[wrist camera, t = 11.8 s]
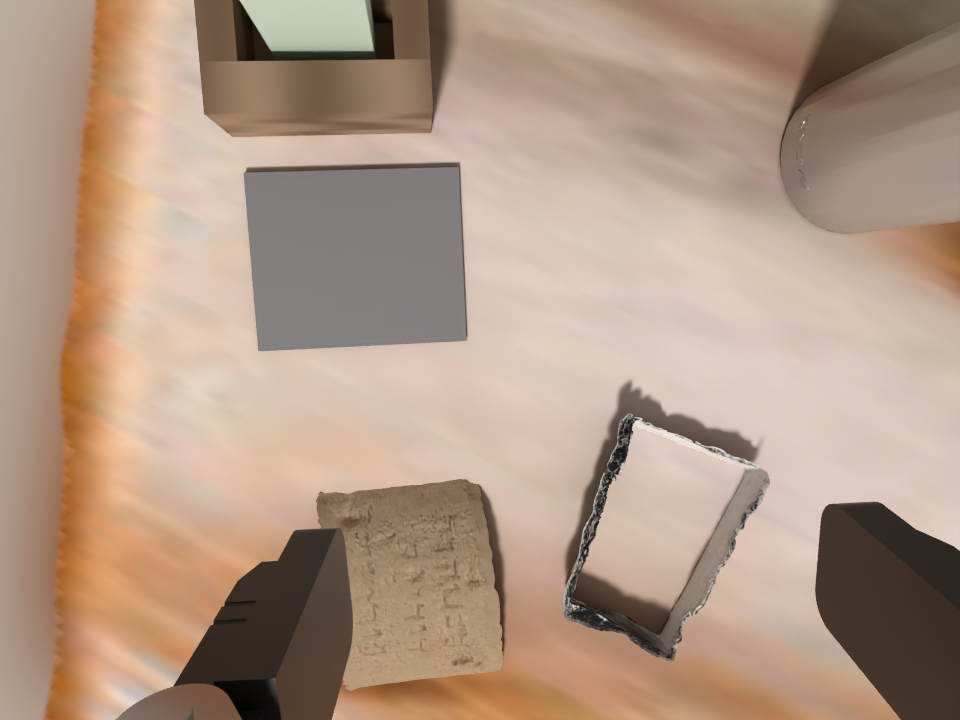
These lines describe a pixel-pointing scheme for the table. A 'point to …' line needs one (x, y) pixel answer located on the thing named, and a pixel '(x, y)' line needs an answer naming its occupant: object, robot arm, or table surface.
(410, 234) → the mat
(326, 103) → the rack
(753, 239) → the table surface
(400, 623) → the brown curved sheet
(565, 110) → the table surface
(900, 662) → the robot arm
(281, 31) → the tall mint green block
